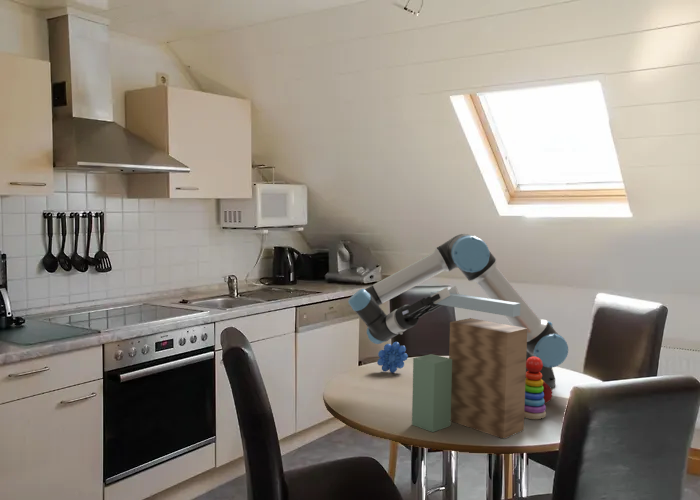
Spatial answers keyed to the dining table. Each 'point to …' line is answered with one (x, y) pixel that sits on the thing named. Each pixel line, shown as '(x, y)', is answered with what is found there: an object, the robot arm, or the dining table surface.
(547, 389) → the onion
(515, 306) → the rod
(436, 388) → the post
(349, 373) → the dining table surface
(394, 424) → the dining table surface
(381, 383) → the dining table surface
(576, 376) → the dining table surface
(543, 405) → the stacking toy
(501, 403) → the stand
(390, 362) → the blue bumpy round piece
